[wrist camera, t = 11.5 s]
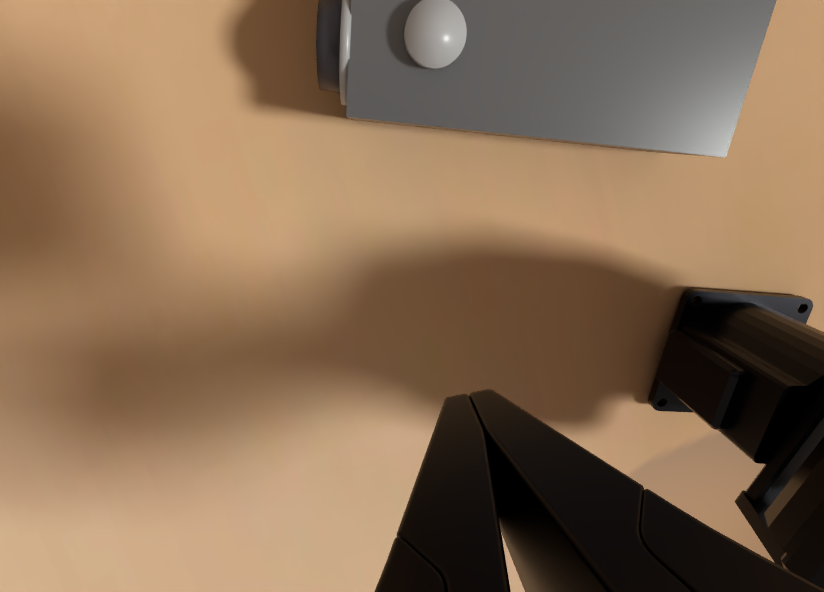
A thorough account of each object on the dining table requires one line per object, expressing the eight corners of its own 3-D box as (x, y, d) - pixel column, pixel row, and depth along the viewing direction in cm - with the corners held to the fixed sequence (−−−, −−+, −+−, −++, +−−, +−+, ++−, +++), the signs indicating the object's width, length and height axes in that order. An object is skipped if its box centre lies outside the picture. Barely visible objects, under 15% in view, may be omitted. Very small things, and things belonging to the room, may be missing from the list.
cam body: (727, -82, 16) (838, -150, 12) (662, 152, 19) (736, 158, 15) (333, -150, 14) (319, -252, 11) (325, 116, 17) (311, 112, 13)
